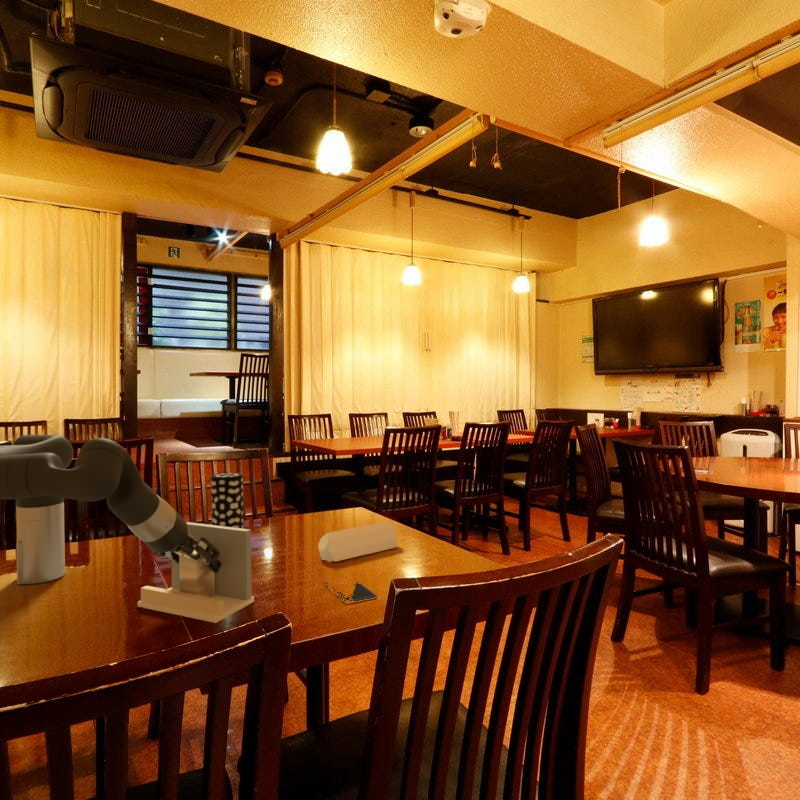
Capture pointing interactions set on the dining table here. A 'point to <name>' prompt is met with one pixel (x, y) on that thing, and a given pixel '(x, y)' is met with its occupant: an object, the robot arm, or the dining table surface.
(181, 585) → the birch block
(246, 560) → the cleat board
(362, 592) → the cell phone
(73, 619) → the dining table surface
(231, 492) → the spotted tube
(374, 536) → the white beveled bar
